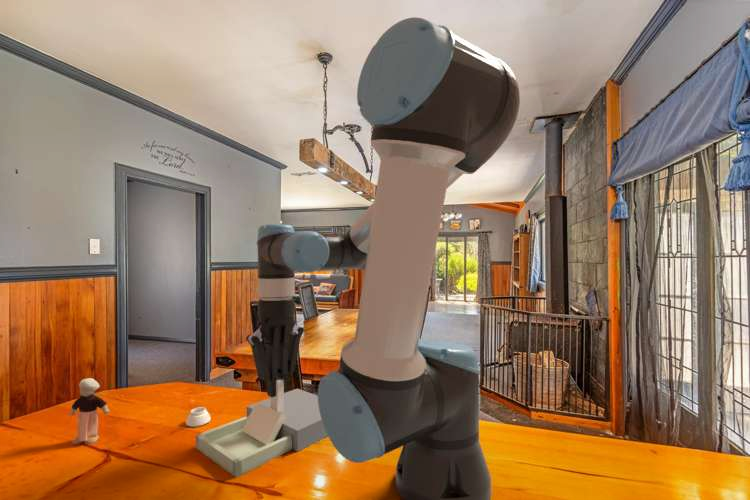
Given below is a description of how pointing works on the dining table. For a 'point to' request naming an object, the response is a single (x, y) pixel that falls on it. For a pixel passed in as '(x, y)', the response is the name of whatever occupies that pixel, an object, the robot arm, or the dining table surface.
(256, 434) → the card
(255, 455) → the tray
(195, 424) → the white jar
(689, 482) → the dining table surface
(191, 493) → the dining table surface
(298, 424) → the grey drawer casing
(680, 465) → the dining table surface
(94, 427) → the grandmother figurine
